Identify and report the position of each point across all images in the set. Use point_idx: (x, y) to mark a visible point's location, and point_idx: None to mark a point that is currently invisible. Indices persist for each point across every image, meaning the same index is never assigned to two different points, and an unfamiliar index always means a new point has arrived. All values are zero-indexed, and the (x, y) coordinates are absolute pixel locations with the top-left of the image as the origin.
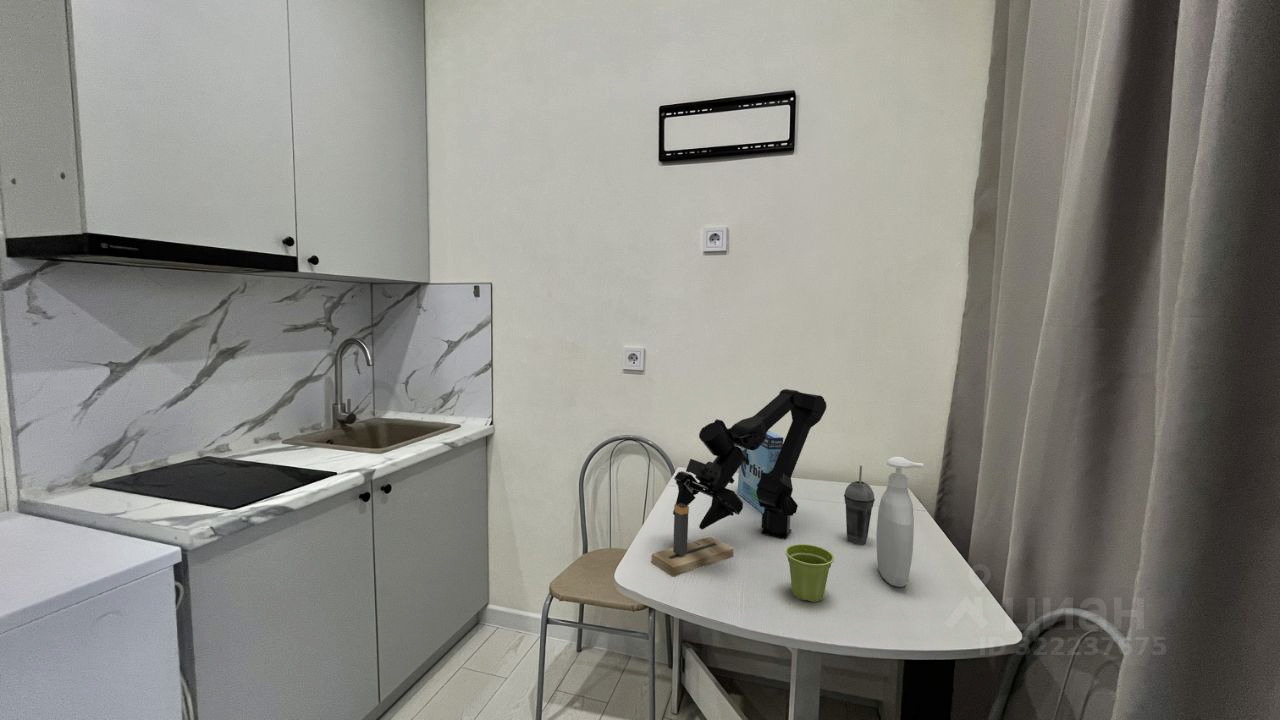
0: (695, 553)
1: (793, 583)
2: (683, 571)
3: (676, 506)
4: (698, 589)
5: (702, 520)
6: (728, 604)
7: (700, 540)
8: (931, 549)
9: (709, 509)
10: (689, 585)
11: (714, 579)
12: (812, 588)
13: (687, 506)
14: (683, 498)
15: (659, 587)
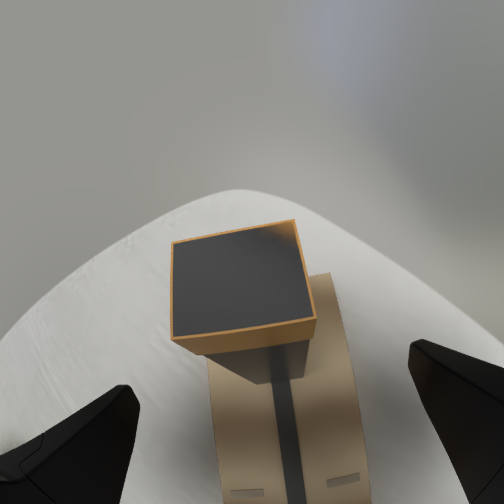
0: (262, 428)
1: None
2: None
3: (257, 229)
4: (125, 329)
5: (103, 406)
6: (57, 346)
7: (361, 501)
8: None
9: (39, 458)
10: (151, 320)
11: (141, 405)
12: None
13: (182, 328)
14: (496, 436)
15: None
